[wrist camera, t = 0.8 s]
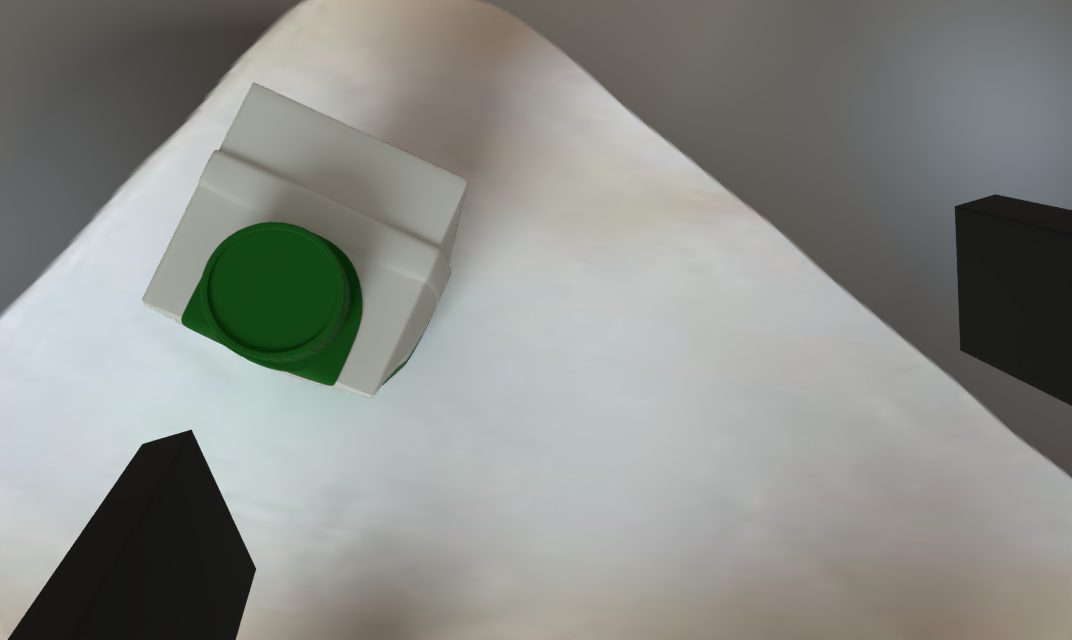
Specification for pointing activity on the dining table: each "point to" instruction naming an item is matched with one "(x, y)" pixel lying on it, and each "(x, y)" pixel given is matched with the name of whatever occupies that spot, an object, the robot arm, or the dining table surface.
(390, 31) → the dining table surface
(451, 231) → the milk carton
